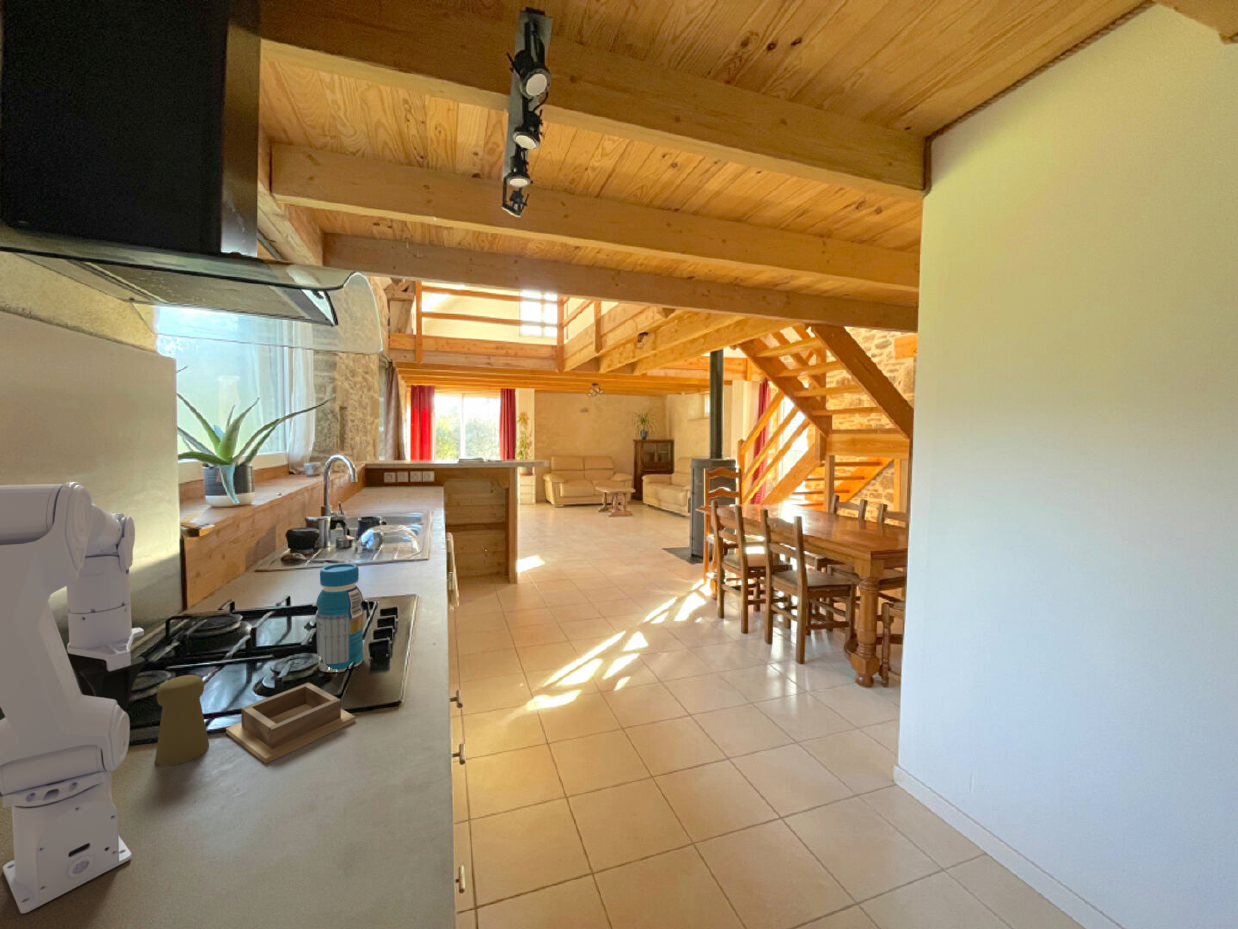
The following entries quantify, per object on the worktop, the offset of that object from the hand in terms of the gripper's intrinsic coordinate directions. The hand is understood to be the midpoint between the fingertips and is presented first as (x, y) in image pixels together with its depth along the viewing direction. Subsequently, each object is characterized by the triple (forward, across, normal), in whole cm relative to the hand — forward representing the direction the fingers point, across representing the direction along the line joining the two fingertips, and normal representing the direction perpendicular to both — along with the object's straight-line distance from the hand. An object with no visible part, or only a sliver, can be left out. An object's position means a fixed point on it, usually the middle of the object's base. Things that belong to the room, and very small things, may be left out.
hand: (104, 706), depth 67 cm
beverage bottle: (+11, +8, -36) cm, 38 cm away
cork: (+11, -1, -8) cm, 13 cm away
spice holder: (+10, -7, -20) cm, 23 cm away
